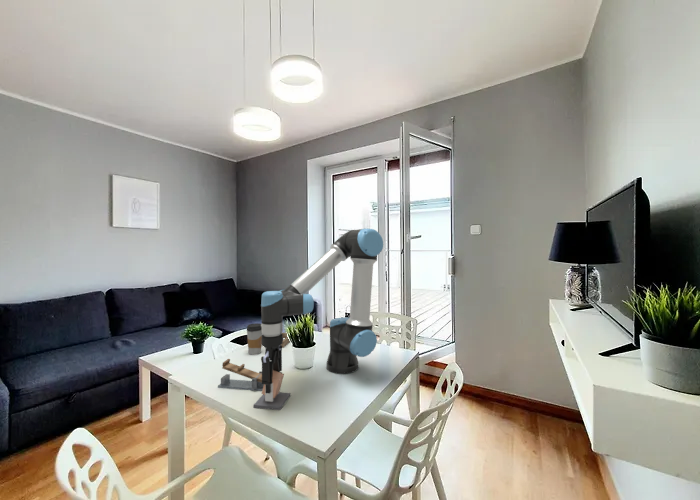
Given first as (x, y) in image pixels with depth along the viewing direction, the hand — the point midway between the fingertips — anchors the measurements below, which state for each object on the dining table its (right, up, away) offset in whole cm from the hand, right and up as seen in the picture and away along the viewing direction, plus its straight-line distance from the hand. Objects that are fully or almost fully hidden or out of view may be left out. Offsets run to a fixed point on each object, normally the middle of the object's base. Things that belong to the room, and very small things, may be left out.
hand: (272, 396), depth 108 cm
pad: (0, -2, 0) cm, 2 cm away
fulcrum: (-14, -2, +12) cm, 19 cm away
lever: (-12, +2, +12) cm, 17 cm away
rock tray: (-14, -1, +67) cm, 68 cm away
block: (-1, +1, 0) cm, 2 cm away
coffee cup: (-23, -2, +50) cm, 55 cm away
